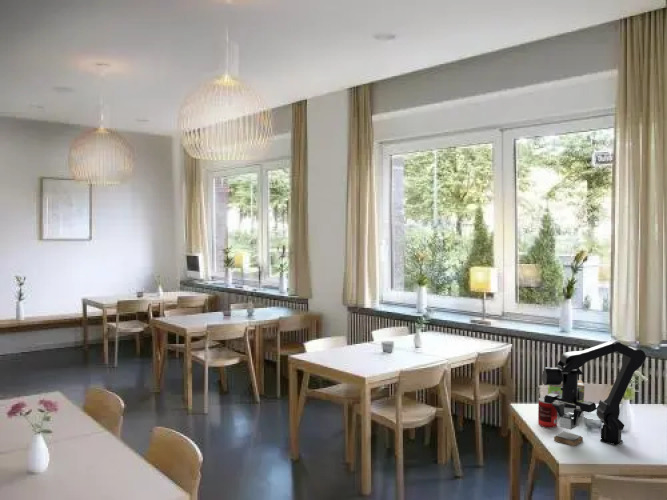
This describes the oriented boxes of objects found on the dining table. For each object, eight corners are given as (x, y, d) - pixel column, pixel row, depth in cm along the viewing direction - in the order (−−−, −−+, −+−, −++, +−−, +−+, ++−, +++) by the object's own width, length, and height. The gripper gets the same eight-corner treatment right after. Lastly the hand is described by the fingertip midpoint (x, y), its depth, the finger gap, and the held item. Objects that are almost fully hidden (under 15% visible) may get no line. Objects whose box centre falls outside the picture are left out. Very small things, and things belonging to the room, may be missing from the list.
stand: (582, 441, 228) (582, 436, 228) (573, 446, 223) (574, 441, 223) (563, 435, 234) (563, 430, 234) (554, 440, 229) (554, 435, 229)
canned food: (554, 421, 251) (554, 397, 250) (559, 428, 243) (559, 402, 243) (536, 421, 252) (536, 396, 251) (540, 427, 244) (541, 401, 243)
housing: (578, 425, 229) (578, 413, 229) (570, 429, 224) (570, 417, 224) (567, 422, 232) (567, 410, 232) (559, 426, 228) (559, 414, 227)
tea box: (548, 414, 261) (549, 382, 261) (546, 407, 271) (547, 376, 271) (583, 417, 257) (584, 385, 257) (581, 410, 267) (581, 379, 266)
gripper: (602, 386, 226) (601, 424, 227) (556, 377, 240) (555, 413, 240) (590, 391, 219) (589, 431, 219) (543, 381, 232) (543, 419, 233)
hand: (569, 423), depth 228 cm, fingers closed on housing, 4 cm apart
